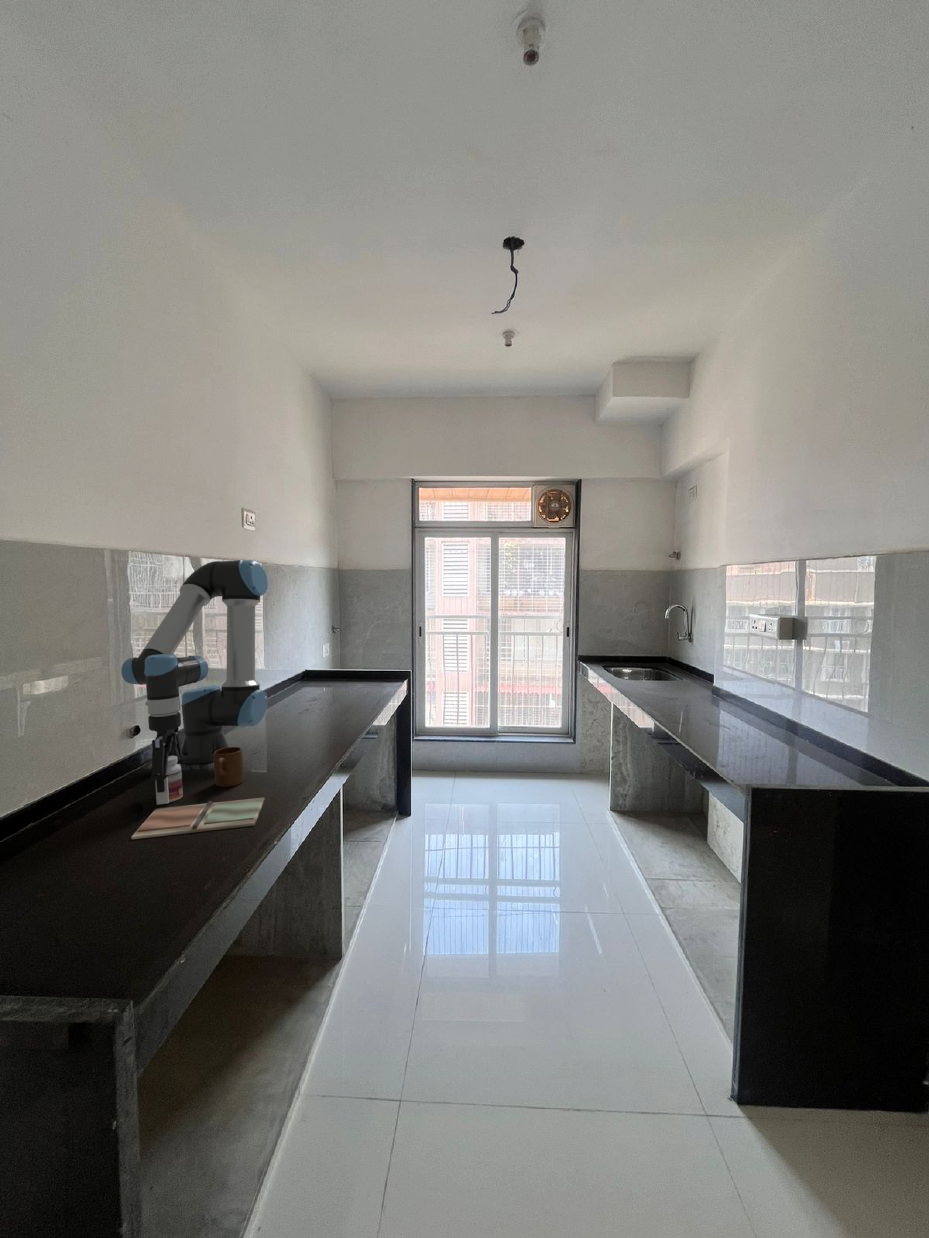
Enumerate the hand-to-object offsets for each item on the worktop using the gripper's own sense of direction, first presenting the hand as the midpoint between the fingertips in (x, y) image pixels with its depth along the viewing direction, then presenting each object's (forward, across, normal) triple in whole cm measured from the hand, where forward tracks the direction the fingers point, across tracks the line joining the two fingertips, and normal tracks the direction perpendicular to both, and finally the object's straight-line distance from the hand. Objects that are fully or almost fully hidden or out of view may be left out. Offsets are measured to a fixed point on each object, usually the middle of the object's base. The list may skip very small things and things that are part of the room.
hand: (169, 795), depth 148 cm
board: (+1, +16, +12) cm, 20 cm away
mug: (+1, -6, +13) cm, 14 cm away
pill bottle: (+1, 0, 0) cm, 1 cm away
